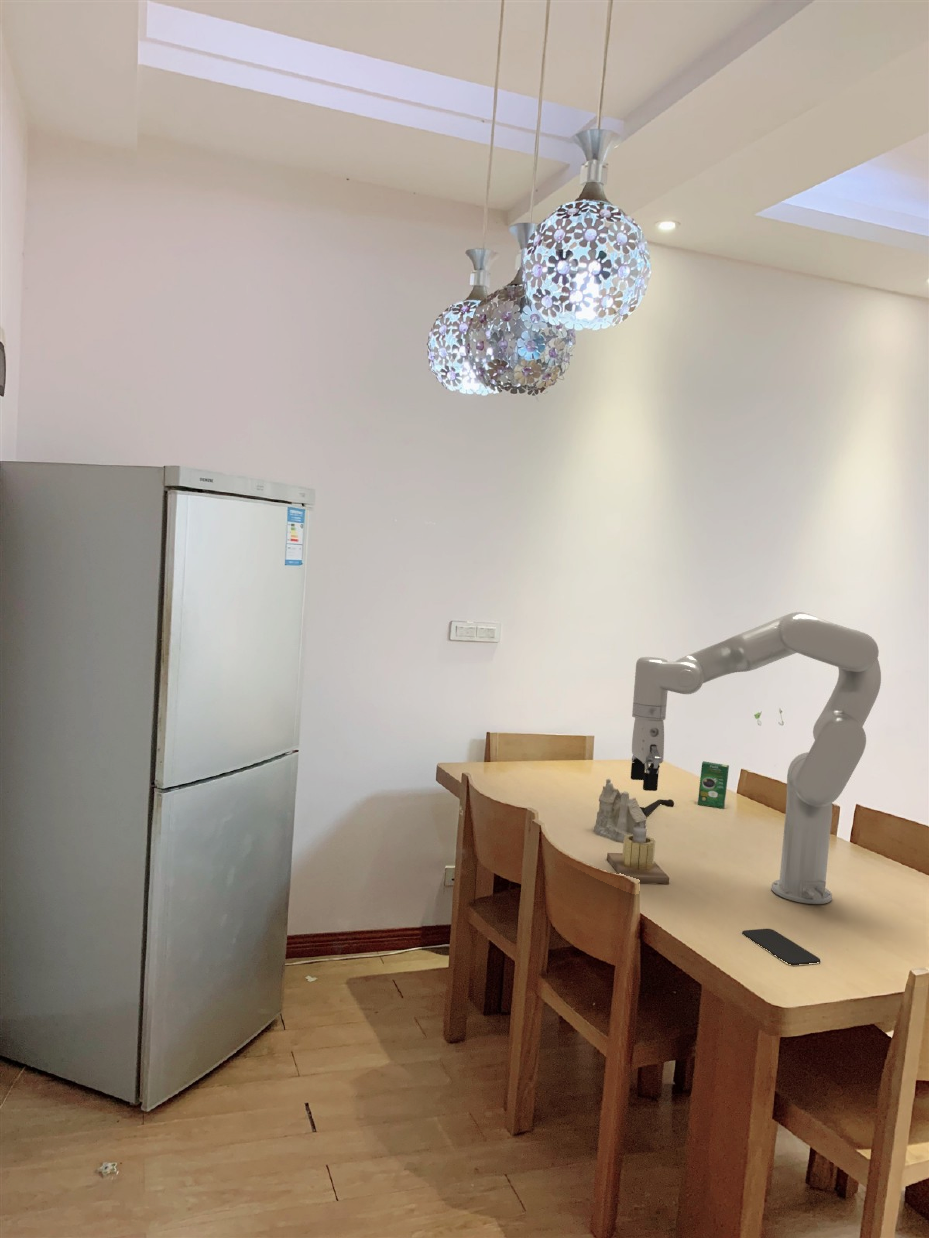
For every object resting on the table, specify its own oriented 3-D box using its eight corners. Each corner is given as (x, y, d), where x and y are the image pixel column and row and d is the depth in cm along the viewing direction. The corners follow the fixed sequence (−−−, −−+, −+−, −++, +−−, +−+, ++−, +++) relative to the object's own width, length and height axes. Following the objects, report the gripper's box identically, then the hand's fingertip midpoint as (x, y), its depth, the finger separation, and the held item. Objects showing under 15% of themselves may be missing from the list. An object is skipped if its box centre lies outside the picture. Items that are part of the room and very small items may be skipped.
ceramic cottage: (626, 846, 226) (632, 786, 226) (581, 830, 239) (586, 774, 239) (667, 841, 235) (673, 784, 235) (621, 827, 248) (626, 773, 249)
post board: (668, 884, 200) (672, 840, 200) (625, 882, 199) (628, 838, 199) (647, 860, 216) (650, 819, 216) (606, 858, 215) (610, 817, 215)
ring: (656, 870, 205) (659, 844, 204) (627, 869, 204) (629, 843, 204) (647, 860, 212) (649, 835, 211) (618, 859, 211) (620, 834, 211)
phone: (771, 927, 178) (823, 960, 164) (770, 931, 178) (823, 964, 164) (739, 930, 176) (789, 963, 161) (739, 934, 176) (789, 968, 161)
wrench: (674, 812, 269) (652, 830, 242) (657, 810, 271) (633, 827, 244) (675, 795, 269) (653, 810, 242) (658, 793, 271) (634, 808, 244)
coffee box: (726, 807, 271) (729, 764, 270) (724, 809, 269) (728, 766, 268) (698, 802, 274) (702, 760, 274) (697, 804, 272) (700, 762, 271)
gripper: (677, 718, 197) (671, 795, 198) (653, 705, 214) (648, 776, 216) (644, 717, 197) (638, 794, 198) (622, 704, 214) (617, 775, 215)
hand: (643, 784), depth 207 cm, fingers open, 9 cm apart
